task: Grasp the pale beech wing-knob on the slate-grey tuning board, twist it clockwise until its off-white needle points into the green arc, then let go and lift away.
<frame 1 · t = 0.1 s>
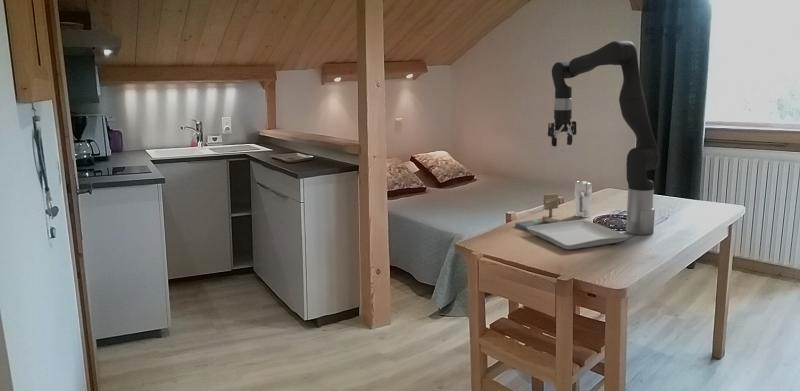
hand: (561, 145, 278), 29 cm above the table, fingers open, 8 cm apart
square plate: (575, 240, 237), on the table
beer glass: (582, 216, 271), on the table
tuning board: (542, 226, 255), on the table
knob: (546, 208, 255), point 7 cm above the table, hinge at 0.0°
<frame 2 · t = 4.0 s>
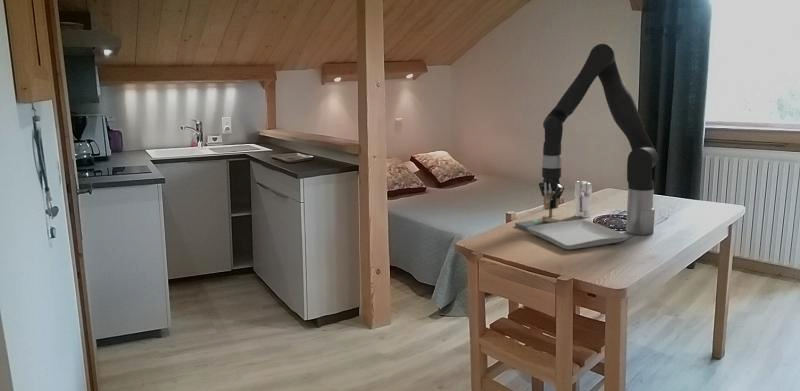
hand: (550, 207, 256), 7 cm above the table, fingers closed on knob, 2 cm apart
knob: (546, 208, 255), point 7 cm above the table, hinge at 0.0°, touching gripper
everything else where it was.
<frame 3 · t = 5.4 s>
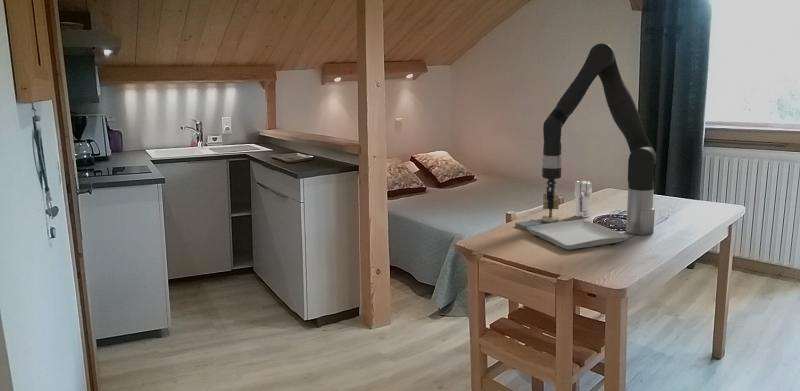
hand: (550, 207, 256), 7 cm above the table, fingers closed on knob, 2 cm apart
knob: (544, 207, 256), point 7 cm above the table, hinge at -37.9°, touching gripper
everything else where it was.
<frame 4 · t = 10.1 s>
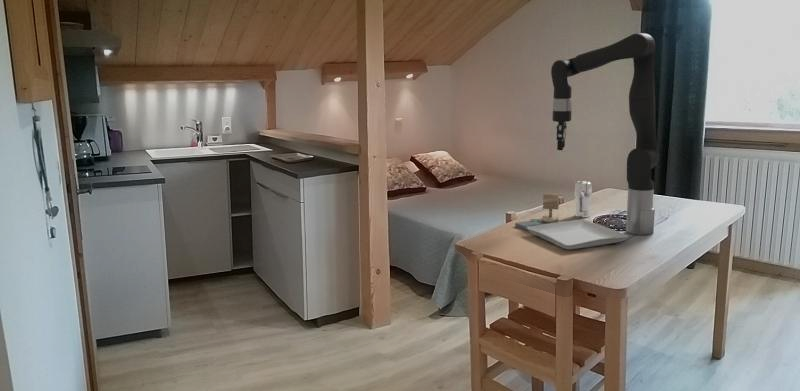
hand: (561, 148, 261), 30 cm above the table, fingers open, 8 cm apart
knob: (544, 207, 256), point 7 cm above the table, hinge at -46.2°
everything else where it was.
at the end: knob at -46° (first picture: +0°); the gripper is holding nothing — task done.
